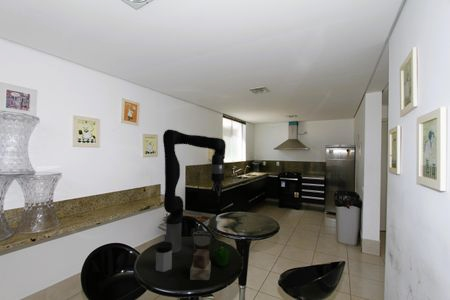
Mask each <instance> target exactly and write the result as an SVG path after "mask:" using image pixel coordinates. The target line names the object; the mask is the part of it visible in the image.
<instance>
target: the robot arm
mask: <svg viewBox="0 0 450 300" xmlns="http://www.w3.org/2000/svg"><path fill="white" fill-rule="evenodd" d="M162 136H163V137H162V143H163V150H164V151H163V152H164V199H163V206H164V207H163V208H164V211H166V213H167V214H169V215H168V216H167V217H166V219H165V220H166V222H165V223H166V225H165V227H166V228H165V229H166V230H165V231H166V232H165V235H164V242H170V243H172V254H177V253H179V252H180V251H181V250H182V219H183V217H184V201H183V198H182V197H181V196H180V195H176V189H177V185H178V183H179V181H180V177H181V166H180V161H179V160H178V157H177V154H176V151H175V150H176V145H189V146H193V147H196V148H203V149H209V150H213V151H214V153H213V154H212V157H211V168H210V170H211V171H210V173H211V174H210V180H211V181H213V185H212V187H211V191H212V194H213V196H214V197H215V198H214V202H215V203H220V197H221V194H222V191H223V189H224V188H223V187H224V185H223V184H222V182H223V181H225V163H224V162H225V161H224V160H225V159H224V158H225V152H226V141H225V140H224V139H223V138H219V137H214V136H213V137H210V136H206V135H200V134H199V135H197V134H187V133H184V132H180V131H178V130H176V129H175V130H174V129H167V130H165V131H164V132H163V135H162Z"/></svg>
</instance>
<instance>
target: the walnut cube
mask: <svg viewBox="0 0 450 300" xmlns="http://www.w3.org/2000/svg"><path fill="white" fill-rule="evenodd" d="M209 261H210V250H196V251H195V253H193V254H192V263H193V267H196V268H201V269H205V268H206V266H207V265H208V264H209Z"/></svg>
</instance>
